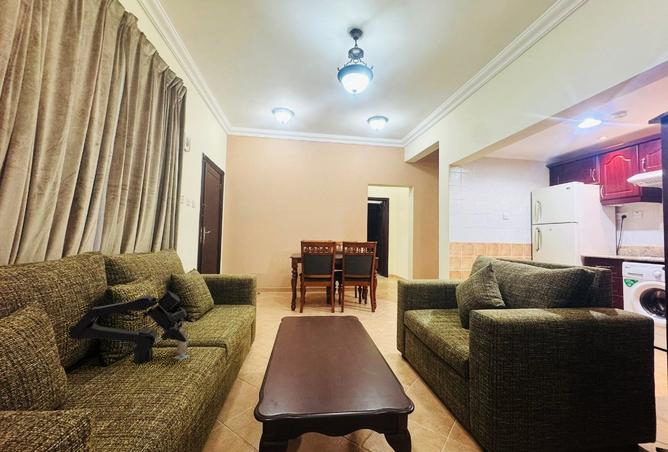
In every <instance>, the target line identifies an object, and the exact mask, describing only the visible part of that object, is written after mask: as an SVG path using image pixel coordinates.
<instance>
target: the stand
mask: <svg viewBox="0 0 668 452" xmlns="http://www.w3.org/2000/svg"><path fill="white" fill-rule="evenodd" d="M188 357H191V355H188V354H186V353H185V354H177V356H175V357H173V359H175V360H181V361H182V360H184V359H187V358H188Z"/></svg>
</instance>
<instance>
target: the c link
mask: <svg viewBox="0 0 668 452" xmlns="http://www.w3.org/2000/svg"><path fill="white" fill-rule="evenodd" d="M180 333H181V334H182V335H183V336H184V337H185V339H186V342H181V341H177V349H176V350H177V352H176V355H180V354H185V355H186V353H187V352H186V351H188V340H189V338H188V337H189V326H188V325H187V326H183V327H180Z"/></svg>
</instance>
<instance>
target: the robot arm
mask: <svg viewBox="0 0 668 452" xmlns="http://www.w3.org/2000/svg"><path fill="white" fill-rule="evenodd" d="M180 301H181V299H180V297H179V296H178V295H177V294H176V293H173V292H171V291H170V290H168V291H167V292H166V293H164V295H163V296H162V297H153V296H151V295H149V294H146V295H142V296H140V297H137V298H134V299H131V300H129V301H123V302H118V303H113V304H107V305H102V306H95V307H93V308H90V309H89V310H88V311H87V312H86V313H85V315H84V316H83V317H82V318H80V319H79V320H78V321H77V323H75V324H74V325H72V326H70V327H69V328H68V329H69V330H70V332H69V335H70V336H68V338H69V339H71V340H85V339H92V338H95V339H102V340H103V339H105V340H111V341H112V340H113V341H119V342H126V343H127V342H129V343H132V344H133V345H135V346H134V347H133V348H132V350H133V363H135V364H138V365H139V364H144V363H147V362H149V361H150V360H151V359H152V358H153V353H154V350H153V346H154V344H155V343H156V342H157V340H158V338H159V333H158V331H157V330H154V328H147V327H143V328H141V330H138V331H135V330H127V329H121V328H113V327H107V326H100V325H98V324H96V323H95V322H96V321H97V319H98V318H99V317H102V316H103V317H104V316H107V315H114V314H119V313H123V312H124V313H125V312H127V311H128V312H130V311H131V312H142V319H144V320H145V318H146V317H149V318H150V319H151V320H152V321H154V322H155V323H156V327H160V328H162V331H163V332H162V334H161V337H160V338H161V339H162V340H163V342H166V340H174V341H177V342H178V341H181V342H186V339H185V337H184V336H183V335H182V334H181V333H180V327H184V326H183V324H184V318H185V319H186V317H187V316H188V313H187V310H186V309H185V308H182V307H179V308H177V311H176V312H174V313H173V314H172V312H167V310H171V309H173V307H174V306H175V305H177V304H178V303H179V302H180ZM157 304H158V305H157Z"/></svg>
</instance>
